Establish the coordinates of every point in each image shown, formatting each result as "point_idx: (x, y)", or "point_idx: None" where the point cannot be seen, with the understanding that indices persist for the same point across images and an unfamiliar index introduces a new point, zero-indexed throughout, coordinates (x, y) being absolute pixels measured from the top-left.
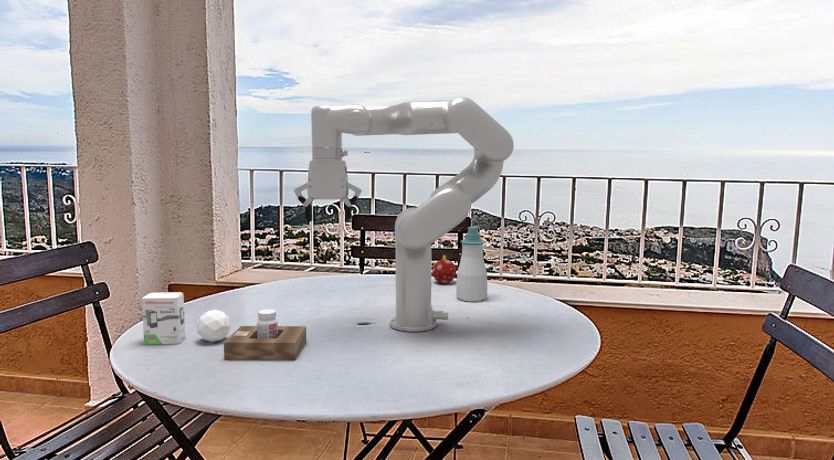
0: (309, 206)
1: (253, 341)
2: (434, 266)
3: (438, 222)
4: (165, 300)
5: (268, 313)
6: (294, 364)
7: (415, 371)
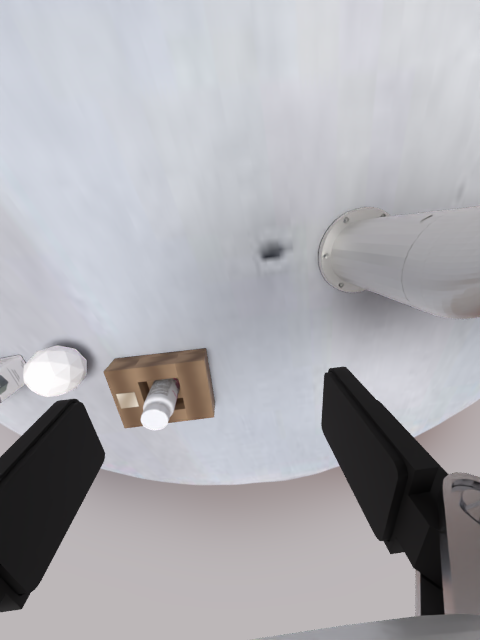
0: (2, 594)
1: None
2: None
3: None
4: None
5: (162, 427)
6: (218, 411)
7: None
